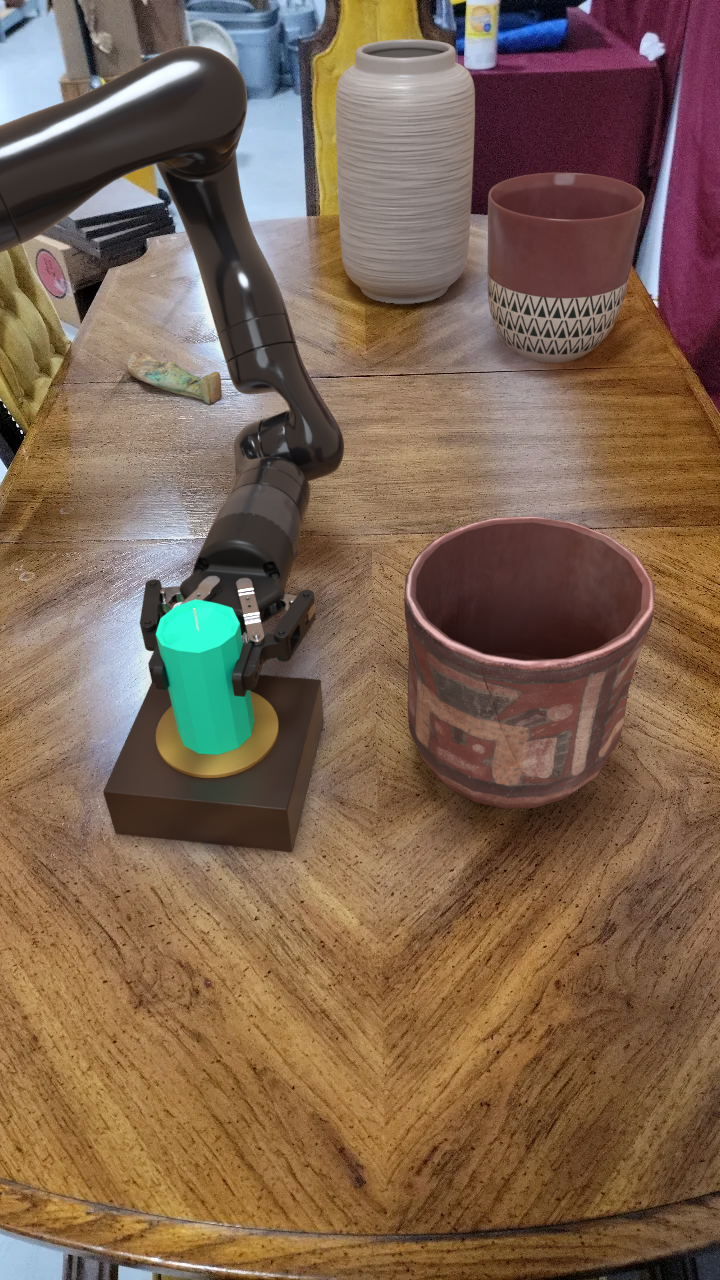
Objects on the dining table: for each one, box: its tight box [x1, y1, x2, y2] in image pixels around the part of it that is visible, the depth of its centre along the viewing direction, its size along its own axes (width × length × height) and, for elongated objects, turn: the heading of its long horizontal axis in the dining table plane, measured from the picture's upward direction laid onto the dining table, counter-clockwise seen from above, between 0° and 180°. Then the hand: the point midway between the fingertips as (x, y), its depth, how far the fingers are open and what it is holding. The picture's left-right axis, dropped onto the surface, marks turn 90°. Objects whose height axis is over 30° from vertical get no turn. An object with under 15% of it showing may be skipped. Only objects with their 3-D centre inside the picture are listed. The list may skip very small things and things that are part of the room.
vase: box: [335, 38, 476, 305], centre depth 148 cm, size 20×20×34 cm
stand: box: [102, 674, 325, 853], centre depth 79 cm, size 14×14×5 cm
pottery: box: [403, 515, 656, 810], centre depth 76 cm, size 18×18×18 cm
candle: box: [156, 599, 255, 755], centre depth 74 cm, size 6×6×12 cm
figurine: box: [126, 350, 223, 405], centre depth 133 cm, size 6×15×4 cm, turn 49°
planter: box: [487, 172, 646, 365], centre depth 132 cm, size 20×20×21 cm
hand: (198, 684), depth 71 cm, fingers closed on candle, 5 cm apart
